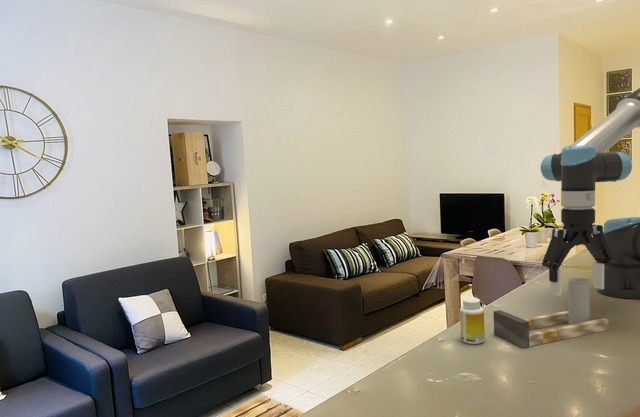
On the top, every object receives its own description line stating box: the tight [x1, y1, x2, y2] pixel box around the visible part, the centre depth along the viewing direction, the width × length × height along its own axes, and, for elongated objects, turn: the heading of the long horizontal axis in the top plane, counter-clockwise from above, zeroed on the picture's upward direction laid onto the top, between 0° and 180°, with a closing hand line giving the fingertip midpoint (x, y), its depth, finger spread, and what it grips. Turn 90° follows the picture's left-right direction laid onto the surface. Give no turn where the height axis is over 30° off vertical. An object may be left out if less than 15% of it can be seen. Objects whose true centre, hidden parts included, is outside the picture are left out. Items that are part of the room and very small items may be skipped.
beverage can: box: [567, 277, 591, 325], centre depth 123 cm, size 5×5×12 cm
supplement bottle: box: [459, 297, 486, 345], centre depth 118 cm, size 6×6×10 cm
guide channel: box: [493, 309, 609, 349], centre depth 121 cm, size 26×10×6 cm, turn 108°
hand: (577, 291), depth 123 cm, fingers open, 13 cm apart
